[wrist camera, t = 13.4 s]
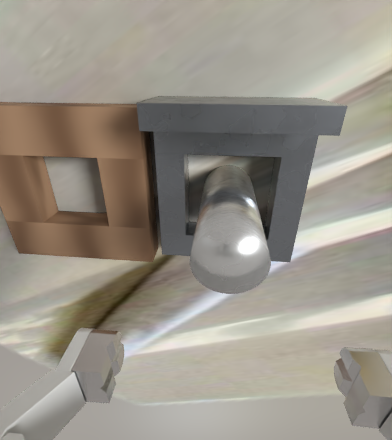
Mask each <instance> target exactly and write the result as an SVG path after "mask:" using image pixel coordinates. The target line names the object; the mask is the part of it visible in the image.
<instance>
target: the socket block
mask: <svg viewBox="0 0 392 440" xmlns="http://www.w3.org/2000/svg"><path fill="white" fill-rule="evenodd" d="M43 156H52V157H84V158H97V161H98V167H99V172H100V178H101V183H102V189H103V194H104V200H105V205H106V211H107V213H88V212H68V211H58V208H57V204H56V201H55V197H54V193H53V190H52V186H51V183H50V179H49V175H48V172H47V168H46V165H45V161H44V158H43ZM0 207H1V209H2V212H3V214H4V217H5V219H6V222H7V224H8V227H9V229H10V232H11V234H12V237H13V239H14V242H15V245H16V247H17V250H18V252H19V253H23V254H38V255H54V256H69V257H85V258H100V259H116V260H131V261H147V262H153V260H154V257H155V255H156V252H157V250H158V236H157V223H156V211H155V198H154V185H153V173H152V160H151V147H150V135H149V131H139V124H138V113H137V104H88V103H16V102H0Z"/></svg>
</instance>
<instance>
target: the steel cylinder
mask: <svg viewBox="0 0 392 440" xmlns="http://www.w3.org/2000/svg"><path fill="white" fill-rule="evenodd" d="M270 265H271V259H270V254H269V250H268V246H267V242H266V238H265V234H264V230H263V226H262V222H261V218H260V214H259V210H258V205H257V201H256V197H255V193H254V189H253V185H252V181H251V179H250V177H249V175H248V174H247V173H246V172H245V171H244V170H243V169H241V168H239V167H236V166H231V165H226V166H221V167H218V168H216V169H215V170H213V171H212V172H211V173H210V174H209V175H208V177H207V178H206V181H205V184H204V189H203V194H202V199H201V204H200V209H199V214H198V219H197V225H196V230H195V235H194V240H193V245H192V250H191V255H190V267H191V270H192V273H193V274H194V276H195V278H196V279H197V280H198V281H199V282H200V283H201V284H202V285H204V286H205V287H207V288H209V289H211V290H213V291H216V292H220V293H226V294H235V293H242V292H246V291H248V290H251V289H253V288H255V287H256V286H258V285H259V284H260V283H261V282H262V281H263V280H264V279H265V278H266V276H267V275H268V272H269V270H270Z"/></svg>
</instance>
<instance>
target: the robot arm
mask: <svg viewBox="0 0 392 440" xmlns="http://www.w3.org/2000/svg"><path fill="white" fill-rule="evenodd" d="M121 338H122V336H121V332H120V331H109V330H98V329H87V328H80V329H79V330H78V331H77V332H76V334H75V335H74V337H73V339H72V341H71V343H70V344H69V346H68V348H67V350H66V352H65V353H64V355H63V357H62V359H61V360H60V362H59V364H58V366H57V368H56V369H55V370H50V371H49V372H48V373H46V374H45V375H44V376H43V377H41V378H40V379H39V380H37V381H36V382H35V383H34V384H32V385H31V386H30V387H28V388H27V389H26V390H24V392H22V393H21V394H19V395H18V396H17V397H15V398H14V399H13V400H12V401H10V402H9V403H8V404H7V405H5V406H4V407H3V408H1V409H0V440H53V439H54V438H55V437H56V436H57V435H58V433H59V432H60V431H61V430H62V429H63V428H64V427H65V426H66V425H67V424H68V423H69V421H70V420H71V419H72V418H73V417H74V416H75V415H76V414H77V412H79V410H80V409H81V408H82V407H83V406H84V405H85V404H86V402H99V403H109V402H110V399H111V397H112V394H113V391H114V388H115V385H116V382H115V378H114V376H116V375H117V374H118V373H119V372H120V370H121V367H122V364H123V358H124V346H123V344H122V343H121V342H120V341H121ZM340 356H341V359H339V360H337V361H336V363H335V366H334V376H335V381H336V384H337V387H338V389H339V390H340V391H341V393H342V394H343V395H344V396H345V401H344V405H345V408H346V411H347V413H348V416H349V418H350V421H351V424H352V425H353V426H361V427H369V428H378V429H379V431H380V432H381V433H382V434H383V436H384V437H385V438H386V439H387V440H392V352H391V351H388V350H374V349H366V348H348V347H344V348H342V349H341V351H340Z"/></svg>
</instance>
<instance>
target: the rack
mask: <svg viewBox="0 0 392 440" xmlns="http://www.w3.org/2000/svg"><path fill="white" fill-rule="evenodd" d="M346 109H347V106H346V105H342V104H338V103H333V102H329V101H325V100H321V99H317V98H269V97H180V96H158V97H155V98H151V99H148V100H145V101H142V102H138V103H137V113H138V124H139V131H153V133H154V147H155V161H156V175H157V189H158V203H159V217H160V231H161V245H162V254H167V255H183V256H190V255H191V250H192V245H193V240H194V235H195V230H196V225H197V222H189V188H188V154H190V155H224V156H258V157H275V159H274V166H273V173H272V179H271V186H270V192H269V199H268V206H267V212H266V219H265V226H263V230H264V234H265V238H266V242H267V246H268V250H269V254H270V259H271V261H280V262H290V260H291V256H292V251H293V247H294V242H295V238H296V234H297V229H298V225H299V220H300V216H301V211H302V207H303V202H304V198H305V193H306V189H307V184H308V180H309V175H310V171H311V166H312V162H313V157H314V153H315V148H316V144H317V139H318V135H336V136H340V132H341V128H342V125H343V121H344V117H345V113H346Z"/></svg>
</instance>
